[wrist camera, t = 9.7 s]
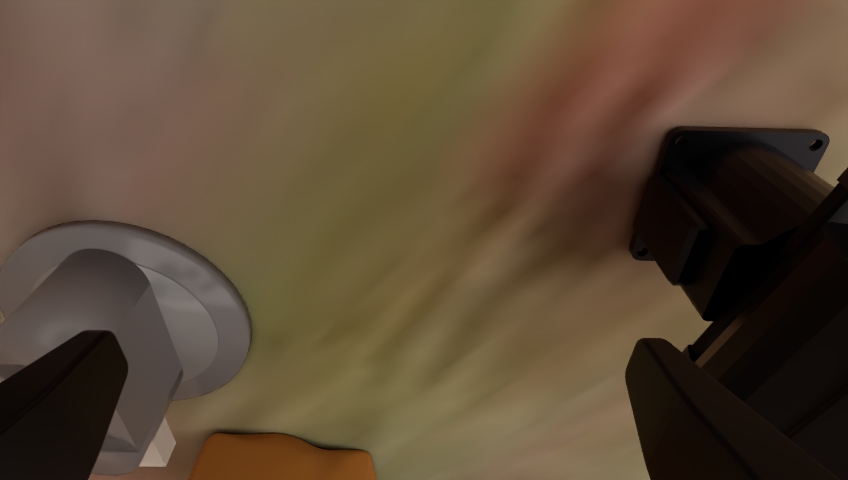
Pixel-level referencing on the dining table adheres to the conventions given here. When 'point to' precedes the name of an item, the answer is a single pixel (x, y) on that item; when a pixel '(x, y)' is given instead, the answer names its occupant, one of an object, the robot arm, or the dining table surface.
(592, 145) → the dining table surface
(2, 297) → the gray plate
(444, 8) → the dining table surface
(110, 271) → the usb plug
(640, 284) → the dining table surface
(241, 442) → the coffee package
